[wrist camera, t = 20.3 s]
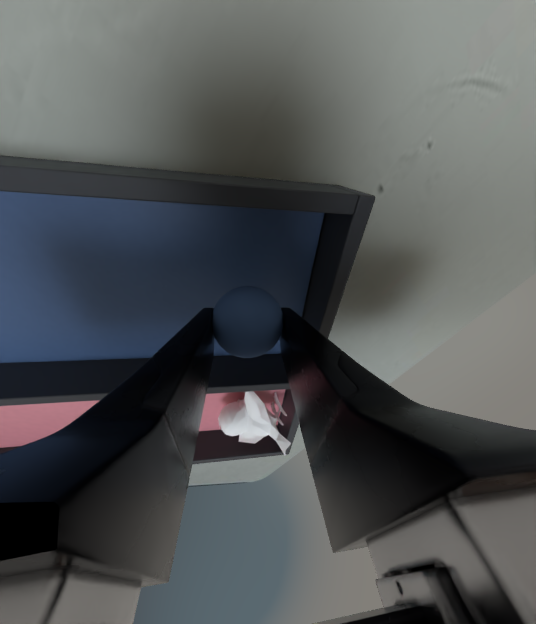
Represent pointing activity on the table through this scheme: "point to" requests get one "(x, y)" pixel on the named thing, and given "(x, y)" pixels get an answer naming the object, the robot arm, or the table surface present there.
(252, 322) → the slate ball
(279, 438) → the white bird figurine
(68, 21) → the table surface
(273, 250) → the tray
